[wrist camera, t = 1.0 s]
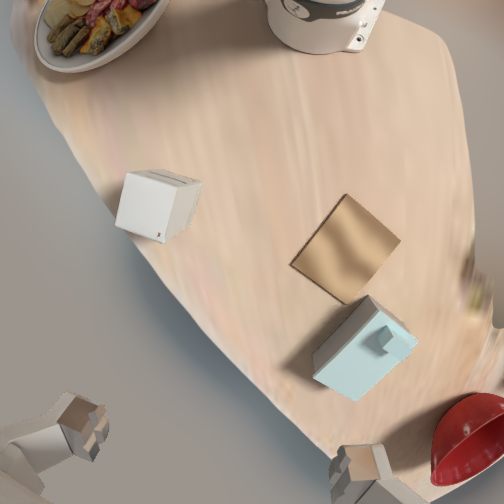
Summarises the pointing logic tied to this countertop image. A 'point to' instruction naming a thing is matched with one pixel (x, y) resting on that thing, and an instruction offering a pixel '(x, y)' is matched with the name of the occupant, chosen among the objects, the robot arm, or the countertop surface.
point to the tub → (349, 330)
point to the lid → (367, 356)
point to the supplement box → (157, 204)
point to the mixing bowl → (468, 439)
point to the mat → (346, 250)
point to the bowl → (91, 31)
